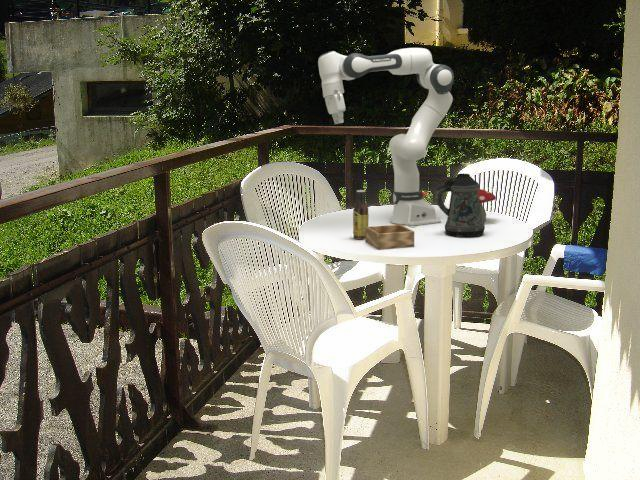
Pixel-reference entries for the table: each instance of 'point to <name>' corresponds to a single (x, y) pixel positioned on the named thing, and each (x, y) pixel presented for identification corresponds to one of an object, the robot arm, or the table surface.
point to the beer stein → (462, 207)
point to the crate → (389, 236)
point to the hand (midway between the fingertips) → (339, 123)
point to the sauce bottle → (360, 215)
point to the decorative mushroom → (484, 197)
